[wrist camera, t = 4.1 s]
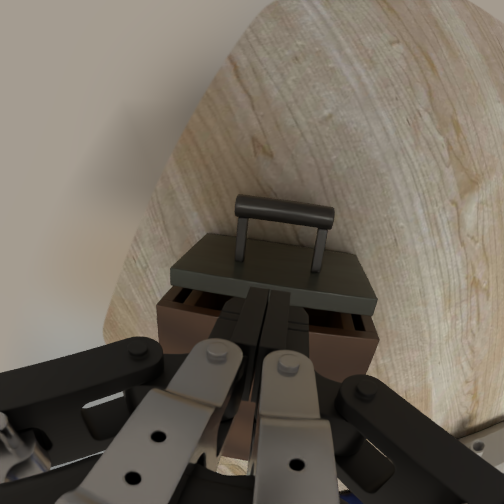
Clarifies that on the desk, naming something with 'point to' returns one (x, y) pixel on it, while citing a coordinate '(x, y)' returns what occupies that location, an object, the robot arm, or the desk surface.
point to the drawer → (277, 266)
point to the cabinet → (320, 353)
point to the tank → (488, 445)
